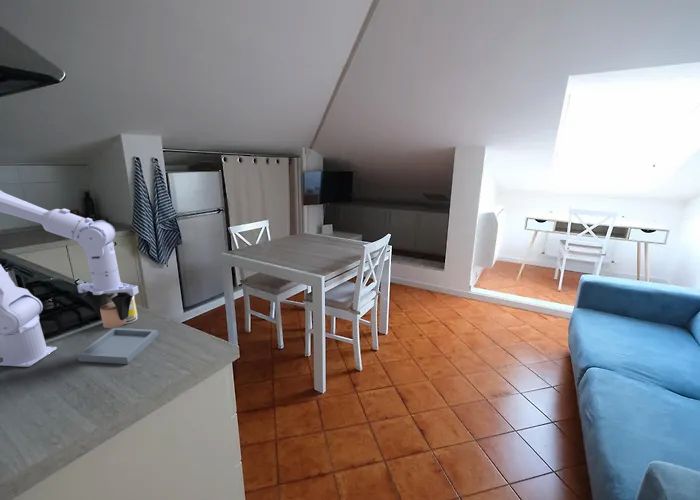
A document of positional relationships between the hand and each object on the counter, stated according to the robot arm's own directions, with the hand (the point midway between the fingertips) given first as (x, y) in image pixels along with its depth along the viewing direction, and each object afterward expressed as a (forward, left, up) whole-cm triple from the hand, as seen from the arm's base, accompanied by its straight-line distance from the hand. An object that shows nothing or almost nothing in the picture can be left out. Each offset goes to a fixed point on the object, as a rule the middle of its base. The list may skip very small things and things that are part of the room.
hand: (114, 317), depth 87 cm
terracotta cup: (0, 0, -2) cm, 2 cm away
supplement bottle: (-8, +14, -10) cm, 19 cm away
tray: (0, 0, -9) cm, 9 cm away
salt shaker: (-16, +18, -10) cm, 26 cm away
